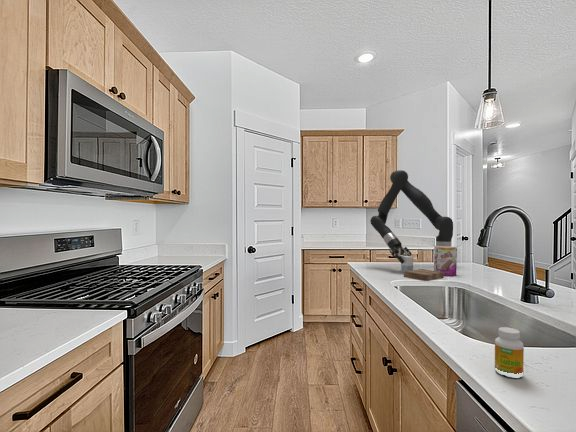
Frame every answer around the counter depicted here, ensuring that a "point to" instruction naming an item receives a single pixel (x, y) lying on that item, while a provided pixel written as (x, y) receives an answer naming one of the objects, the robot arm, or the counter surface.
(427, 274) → the walnut stand
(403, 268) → the housing block
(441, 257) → the candy bar box
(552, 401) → the counter surface
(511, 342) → the supplement bottle
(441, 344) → the counter surface
